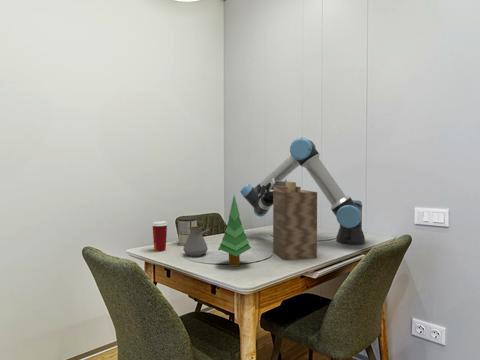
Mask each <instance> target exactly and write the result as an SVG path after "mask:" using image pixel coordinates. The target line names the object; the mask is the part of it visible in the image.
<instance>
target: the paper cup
mask: <svg viewBox="0 0 480 360" xmlns="http://www.w3.org/2000/svg"><path fill="white" fill-rule="evenodd" d="M151 226H152V234H153V235H152V238H153V250H154V251H155V252H164V251H166V249H167V234H168V233H167V232H168V231H167V230H168V221H164V220H162V221H161V220H160V221H153V222H152V224H151Z"/></svg>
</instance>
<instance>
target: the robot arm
mask: <svg viewBox="0 0 480 360" xmlns="http://www.w3.org/2000/svg"><path fill="white" fill-rule="evenodd" d="M289 152H290V156H288V158H286V159H285V160H284V161H283V162H281V163H280V165H278V166H277V167H276V168H275V169H274V170H273V171H272V172H270V173H269V174H268V175H267V176H266V177H265V178H264V179H263V180H261V182H260V183H258V184H257V185H256V186H255V187H254V186H253V185H251V184H250V183H247V184H246V185H244V186H243V187H242V188H241V189H240V194H241V196H242V197H243V198H244V199H245V200H246V201H247V202H248V203H249V204H250V205H251V206H252V208H253V213H254V214H255V216H257V217H264V216H265V215H266V214H267V213H268V212H269V210H270V208H271V207H272V206H273V191H274V190H271V188H272V187H273V185H274V184H275V181H287V182H289V179H288V176H289V175H290V174H291V173H292V172H294V170H296V169H297V168H298V167H299V166H300V167H301V168H305V170H307V172H308V173H309V175H310V176H311V177H312V179H313V180H314V182H315V184H316V185H317V186H318V187H319V189H320V190H321V192H322V193H323V195H324V196H325V198H326V199H327V201H328V202H329V204H330V205H331V206H330V207H331V211H332V212H333V214H334V216H335V217H336V221H337V223H338V224H339V229H338V231H337V233H336V239H335V240H336V242H337V243H341V244H345V245H362V244H365V243H366V237H365V235H364V231H363V227H362V226H363V224H362V223H363V222H362V221H363V203H362V201H361V200H356V199H355V200H354V199H352V198H351V196H348V195H346V194H345V193H344V191H343V190H342V188H341V187H340V185H339V184H338V183H337V181H336V180H335V178H334V177H333V175H332V174H331V173H330V172H329V170H328V169H327V167H326V166H325V165H324V163H323V162H322V160H321V159H320V155H321V154H320V153H319V151H318V150H317V148H316V145H315V143H314V142H313V141H312V140H310V139H308V138H306V137H298V138H296V139H294V140H293V141H292V142H291V143H290V146H289Z"/></svg>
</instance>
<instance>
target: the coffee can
mask: <svg viewBox="0 0 480 360" xmlns="http://www.w3.org/2000/svg"><path fill="white" fill-rule="evenodd" d="M177 220H178V221H177V222H178V223H177V224H178V227H177V228H178V229H177V230H178V245H179V246H183V247H184V246H185V244H186V241H187V239H188V236H189V234H190V229H189V227H198V217H196V216H181V217H178V218H177Z"/></svg>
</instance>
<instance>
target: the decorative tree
mask: <svg viewBox="0 0 480 360" xmlns="http://www.w3.org/2000/svg"><path fill="white" fill-rule="evenodd" d="M239 211H240V210H239V208H238V204H237V201H236V196H235V195H233V198H232V201H231V207H230V211H229V215H228V222H227V225H226V229H225V231H224V235H223V237H222V240H221V242H220V244H219V247H218V248H217V250H218V251H220V250H221V251H222V252H225V253H228V266H231V267H238V266H241V264H240V262H241V261H240V260H241V259H240V256H241V254H244V253H246V252H247V251H249V250H251V249H252V246H251V245H250V244H249V243H250V242H249V240H248V239H247V238H248V237H247V235H246V233H245V229H244V228H243V223H242V221H241V218H240V216H241V215H240V212H239Z"/></svg>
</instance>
